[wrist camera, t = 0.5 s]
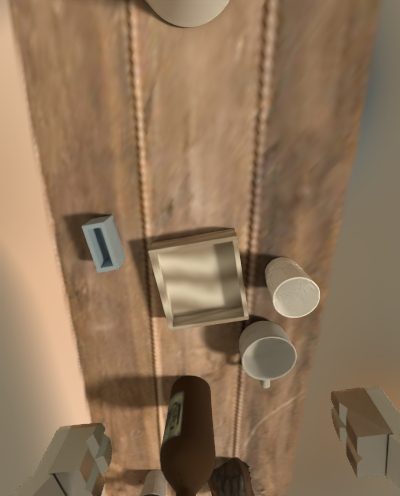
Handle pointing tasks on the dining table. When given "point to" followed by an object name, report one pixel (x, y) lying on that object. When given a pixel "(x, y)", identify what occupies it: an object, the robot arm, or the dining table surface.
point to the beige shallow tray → (200, 279)
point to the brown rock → (231, 479)
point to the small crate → (104, 243)
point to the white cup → (291, 288)
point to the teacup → (266, 352)
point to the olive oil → (188, 437)
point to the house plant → (154, 484)
